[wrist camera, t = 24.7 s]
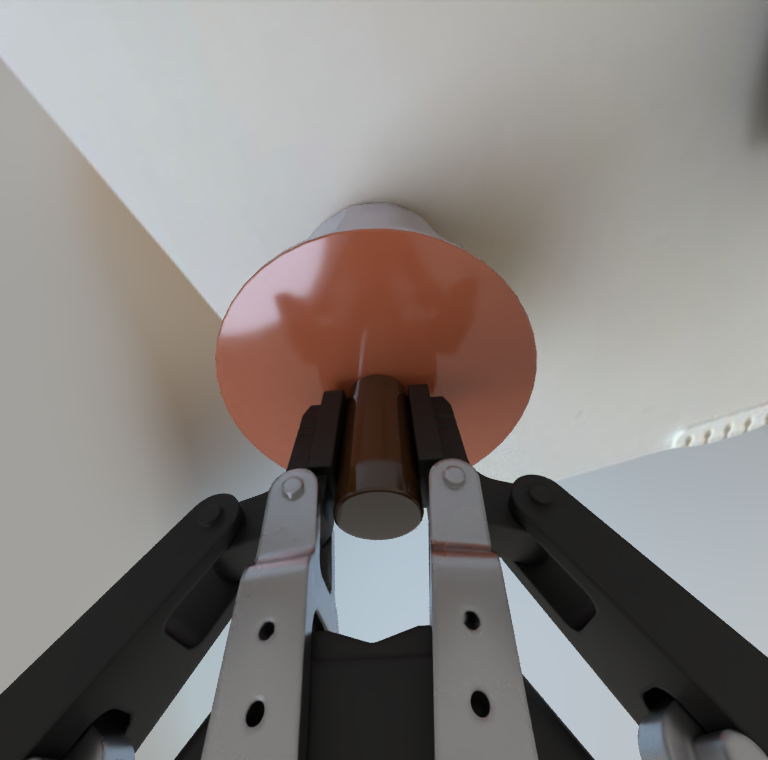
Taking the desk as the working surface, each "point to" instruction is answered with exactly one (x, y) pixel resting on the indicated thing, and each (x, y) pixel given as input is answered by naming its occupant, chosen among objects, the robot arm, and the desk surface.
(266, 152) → the desk surface
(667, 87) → the desk surface
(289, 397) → the lid
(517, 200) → the desk surface
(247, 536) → the robot arm
